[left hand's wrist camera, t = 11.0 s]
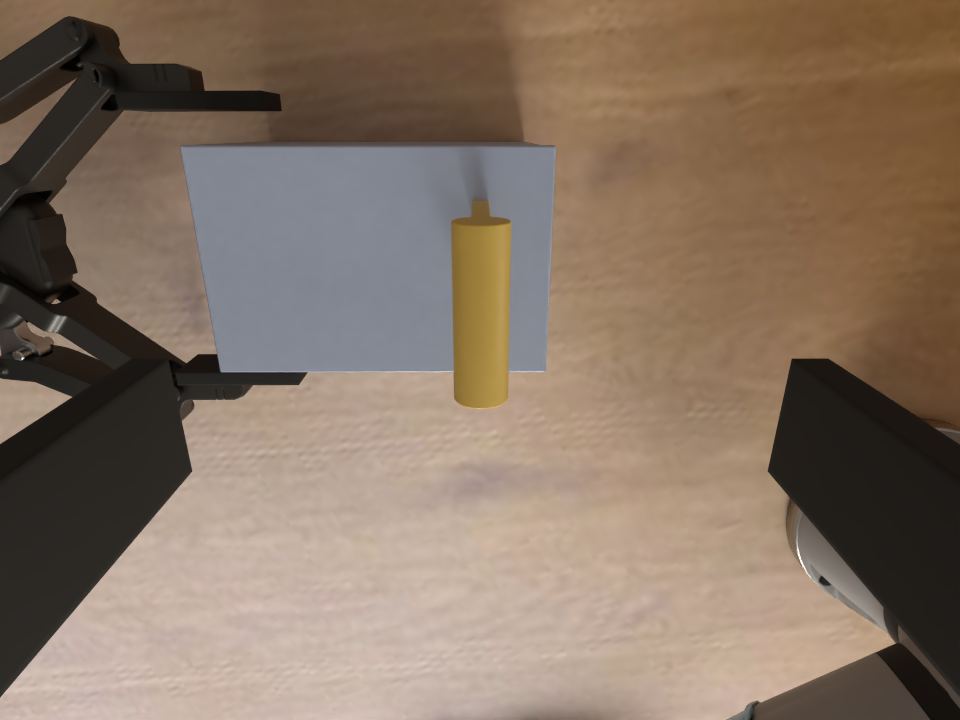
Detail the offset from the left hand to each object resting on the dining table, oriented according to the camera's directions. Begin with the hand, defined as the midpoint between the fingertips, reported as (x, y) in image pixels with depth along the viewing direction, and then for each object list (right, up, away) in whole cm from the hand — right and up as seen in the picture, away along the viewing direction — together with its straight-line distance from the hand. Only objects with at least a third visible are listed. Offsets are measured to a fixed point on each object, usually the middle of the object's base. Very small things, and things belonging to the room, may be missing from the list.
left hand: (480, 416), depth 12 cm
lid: (-5, +6, +14) cm, 16 cm away
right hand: (-10, +7, +17) cm, 21 cm away
